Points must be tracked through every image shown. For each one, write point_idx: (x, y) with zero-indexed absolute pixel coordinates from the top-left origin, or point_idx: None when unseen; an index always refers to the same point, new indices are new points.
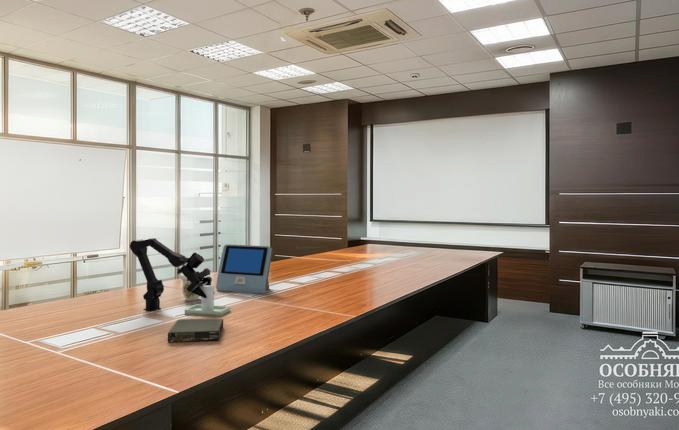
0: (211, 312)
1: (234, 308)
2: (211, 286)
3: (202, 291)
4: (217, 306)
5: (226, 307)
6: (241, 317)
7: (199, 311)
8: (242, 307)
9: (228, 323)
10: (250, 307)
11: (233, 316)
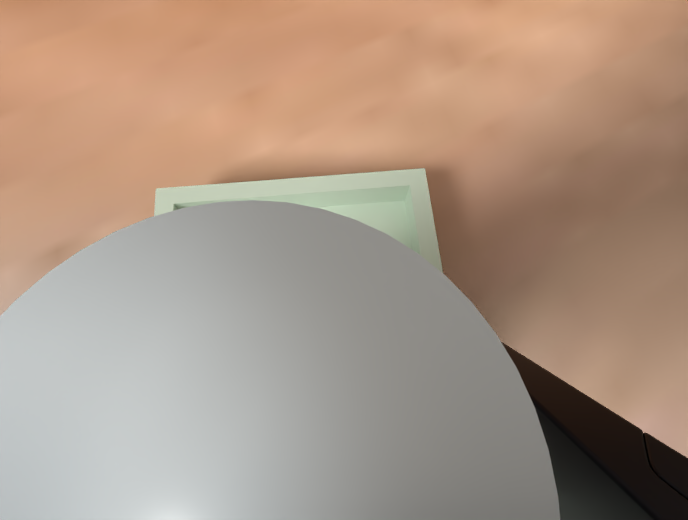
0: None
1: (64, 218)
2: (207, 286)
3: (643, 445)
4: None
5: (225, 198)
6: (380, 28)
7: None
8: (11, 162)
9: (583, 40)
10: (6, 95)
11: (373, 94)
